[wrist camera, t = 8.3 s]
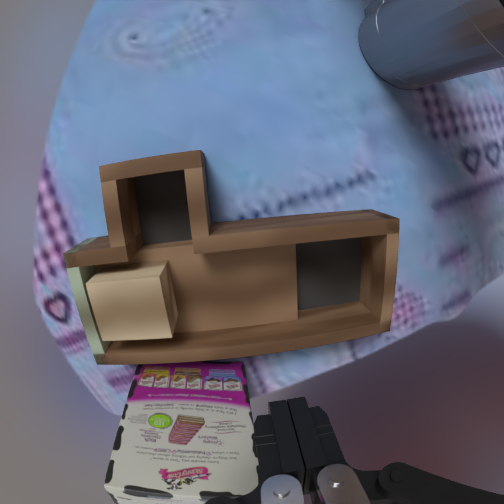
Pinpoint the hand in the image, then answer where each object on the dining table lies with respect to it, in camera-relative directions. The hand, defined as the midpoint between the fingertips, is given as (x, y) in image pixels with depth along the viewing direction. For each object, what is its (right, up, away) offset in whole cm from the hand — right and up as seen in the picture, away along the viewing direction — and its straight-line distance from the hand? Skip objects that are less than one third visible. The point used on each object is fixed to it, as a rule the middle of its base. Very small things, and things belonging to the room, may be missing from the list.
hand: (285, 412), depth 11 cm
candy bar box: (-8, -7, +19) cm, 22 cm away
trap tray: (-3, +7, +15) cm, 17 cm away
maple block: (-11, +3, +13) cm, 18 cm away
